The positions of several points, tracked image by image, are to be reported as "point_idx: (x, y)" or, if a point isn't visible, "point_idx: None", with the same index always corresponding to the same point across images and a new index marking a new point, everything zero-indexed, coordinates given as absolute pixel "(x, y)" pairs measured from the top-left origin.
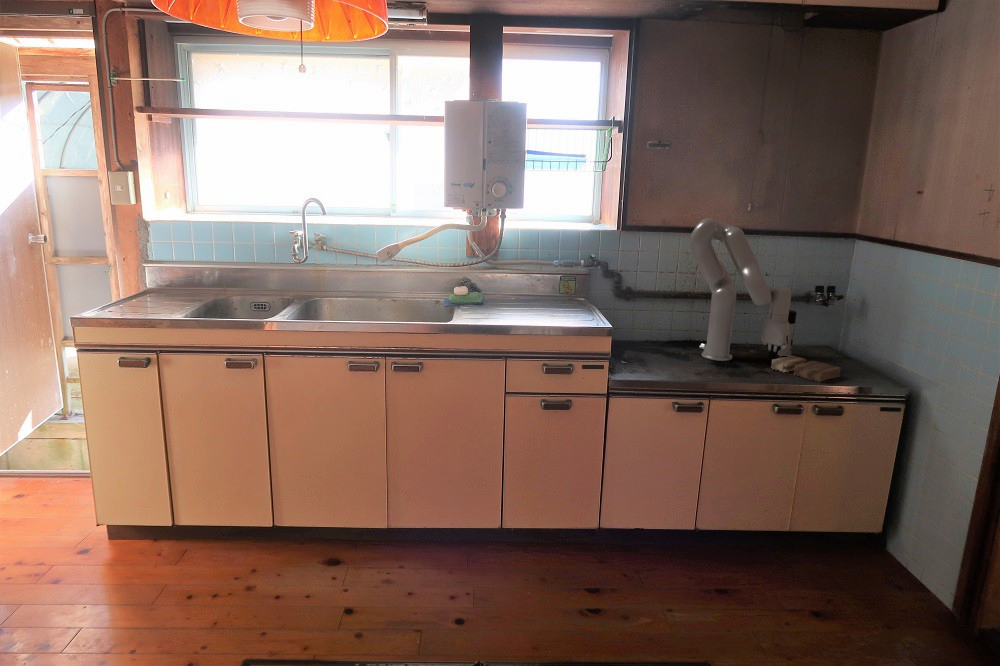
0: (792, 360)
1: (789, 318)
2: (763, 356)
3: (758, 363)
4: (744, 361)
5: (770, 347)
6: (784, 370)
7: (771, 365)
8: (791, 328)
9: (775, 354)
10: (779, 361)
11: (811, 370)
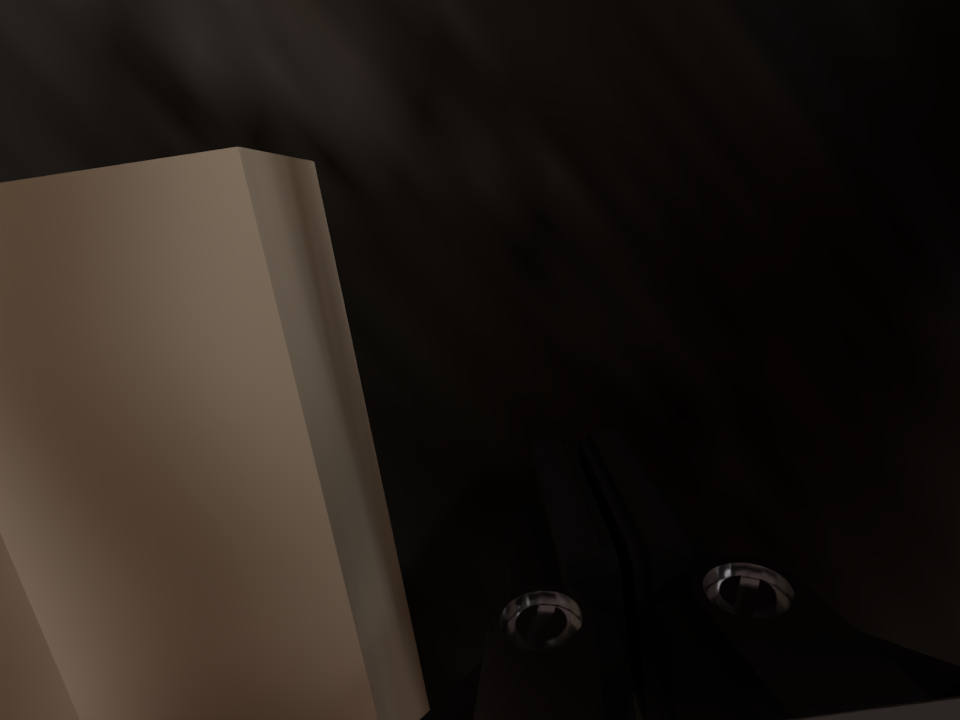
0: (55, 631)
1: None
2: None
3: (693, 217)
4: (950, 22)
5: (752, 649)
6: None
7: (290, 160)
8: None
9: (511, 571)
10: (15, 212)
11: None
